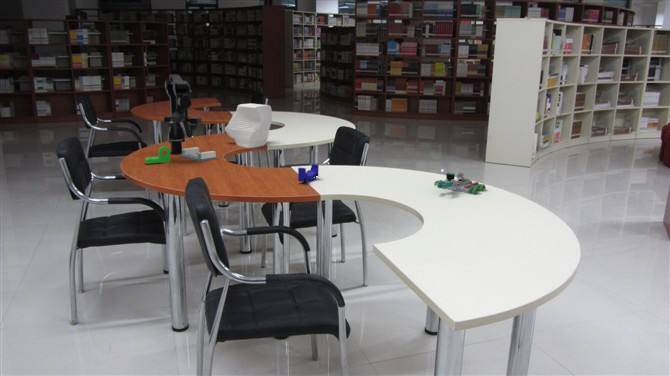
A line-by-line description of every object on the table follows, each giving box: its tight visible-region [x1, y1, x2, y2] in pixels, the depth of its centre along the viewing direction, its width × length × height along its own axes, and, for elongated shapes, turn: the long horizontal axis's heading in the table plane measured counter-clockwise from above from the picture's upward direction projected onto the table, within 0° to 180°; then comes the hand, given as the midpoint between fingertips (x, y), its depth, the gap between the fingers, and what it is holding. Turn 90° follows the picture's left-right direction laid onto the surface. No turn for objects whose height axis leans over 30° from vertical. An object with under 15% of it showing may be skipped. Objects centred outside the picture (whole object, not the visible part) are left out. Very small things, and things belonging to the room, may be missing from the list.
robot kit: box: [434, 171, 486, 196], centre depth 231 cm, size 19×25×9 cm
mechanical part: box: [144, 146, 172, 165], centre depth 283 cm, size 12×6×8 cm, turn 118°
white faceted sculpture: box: [224, 103, 273, 149], centre depth 330 cm, size 21×27×26 cm
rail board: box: [179, 146, 219, 163], centre depth 295 cm, size 18×12×4 cm, turn 47°
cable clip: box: [297, 163, 320, 182], centre depth 252 cm, size 12×4×6 cm, turn 148°
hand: (183, 136), depth 284 cm, fingers open, 9 cm apart
